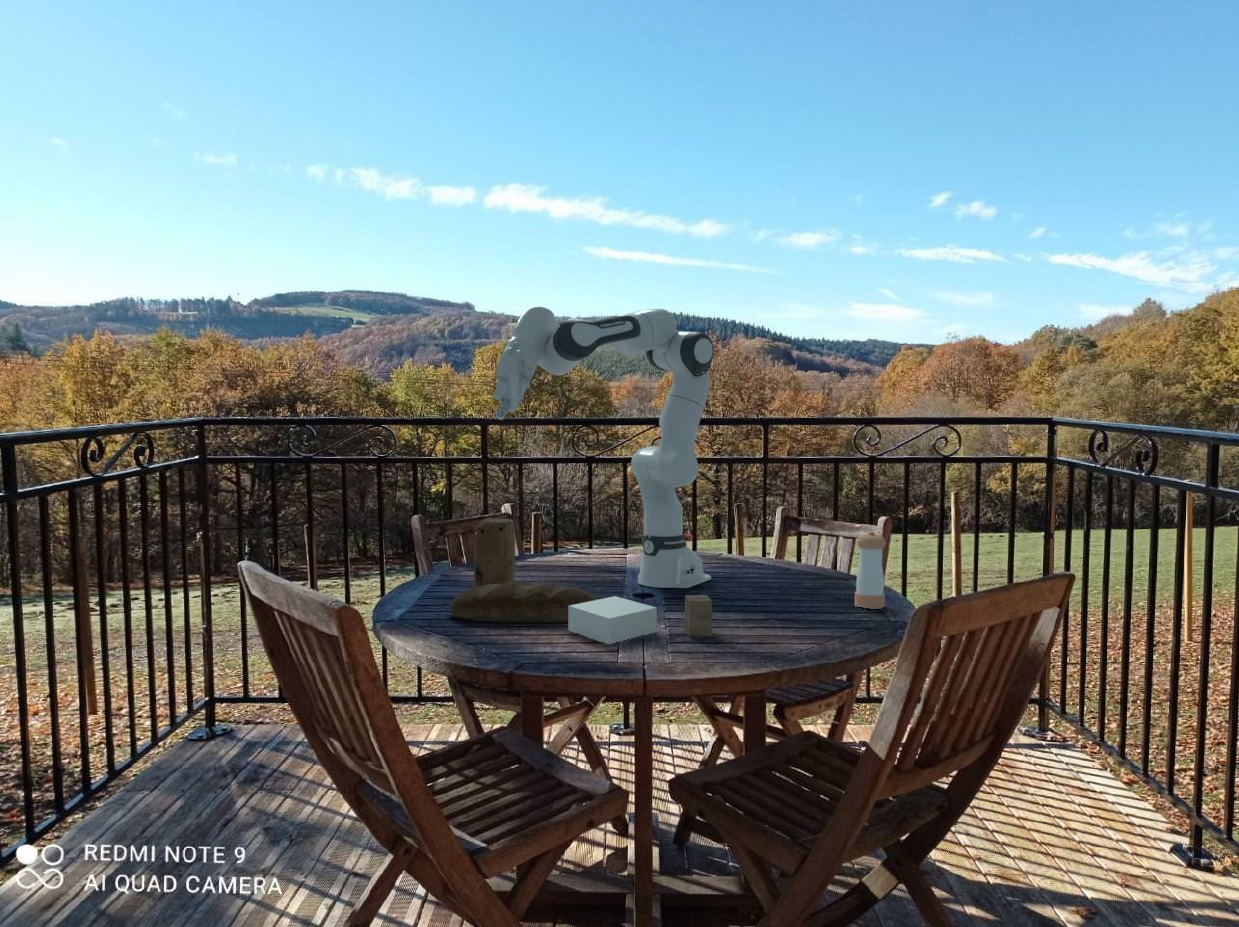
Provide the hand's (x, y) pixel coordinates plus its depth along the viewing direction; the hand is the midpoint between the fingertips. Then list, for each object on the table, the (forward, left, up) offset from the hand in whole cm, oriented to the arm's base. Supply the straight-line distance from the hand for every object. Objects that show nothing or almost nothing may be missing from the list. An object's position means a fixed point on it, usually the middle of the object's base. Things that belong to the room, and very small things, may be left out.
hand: (497, 408), depth 186 cm
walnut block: (-23, +43, -50) cm, 70 cm away
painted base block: (-10, +29, -50) cm, 59 cm away
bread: (-4, +5, -50) cm, 51 cm away
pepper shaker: (-73, +57, -50) cm, 105 cm away
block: (-12, -20, -50) cm, 55 cm away
